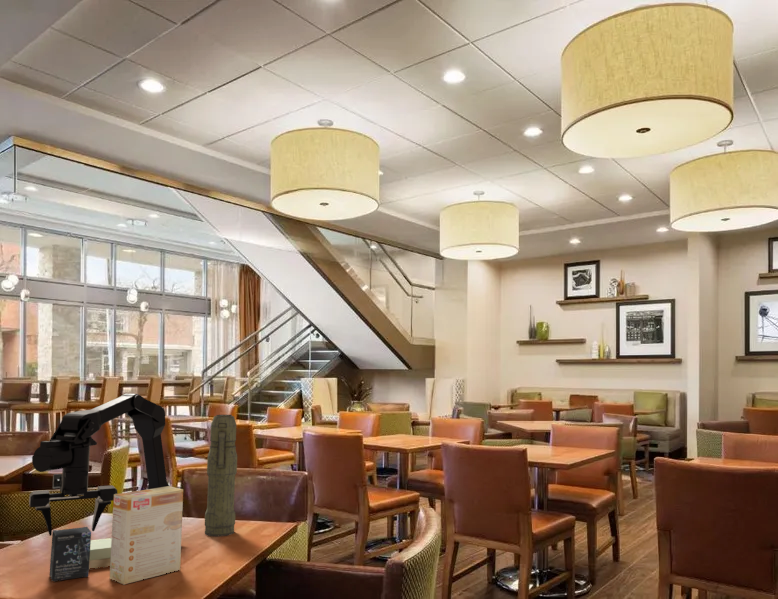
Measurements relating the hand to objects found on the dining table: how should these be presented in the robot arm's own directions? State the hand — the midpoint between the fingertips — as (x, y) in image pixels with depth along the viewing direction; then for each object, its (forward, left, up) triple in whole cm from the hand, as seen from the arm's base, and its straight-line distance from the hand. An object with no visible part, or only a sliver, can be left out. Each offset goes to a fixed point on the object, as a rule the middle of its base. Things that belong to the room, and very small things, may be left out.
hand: (71, 533), depth 158 cm
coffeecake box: (-16, +7, -10) cm, 20 cm away
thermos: (-43, -25, -10) cm, 51 cm away
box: (0, 0, -10) cm, 10 cm away
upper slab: (-9, -10, -8) cm, 16 cm away
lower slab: (-9, -10, -11) cm, 17 cm away
